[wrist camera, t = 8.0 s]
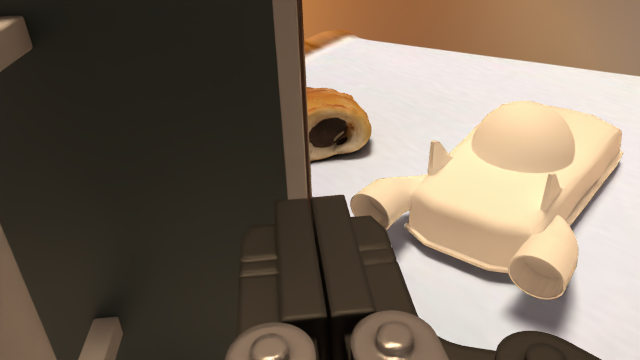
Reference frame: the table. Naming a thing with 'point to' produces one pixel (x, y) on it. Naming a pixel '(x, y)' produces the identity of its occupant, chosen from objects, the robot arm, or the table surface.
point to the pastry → (335, 123)
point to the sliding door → (139, 170)
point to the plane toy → (506, 193)
